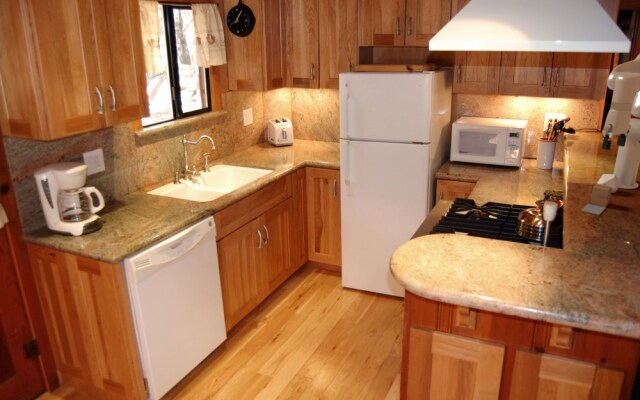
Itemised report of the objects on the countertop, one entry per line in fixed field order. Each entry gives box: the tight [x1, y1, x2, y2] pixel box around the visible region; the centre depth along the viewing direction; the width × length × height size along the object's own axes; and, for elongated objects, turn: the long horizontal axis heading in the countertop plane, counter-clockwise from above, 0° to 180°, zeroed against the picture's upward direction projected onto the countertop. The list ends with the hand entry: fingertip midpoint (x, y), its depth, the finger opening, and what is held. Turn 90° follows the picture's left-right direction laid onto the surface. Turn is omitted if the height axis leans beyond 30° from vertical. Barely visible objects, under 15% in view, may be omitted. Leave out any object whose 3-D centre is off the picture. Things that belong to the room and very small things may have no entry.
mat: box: [580, 203, 606, 216], centre depth 212 cm, size 10×7×1 cm
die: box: [596, 173, 622, 194], centre depth 232 cm, size 8×9×10 cm
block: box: [589, 183, 612, 208], centre depth 217 cm, size 6×6×8 cm
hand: (613, 147), depth 211 cm, fingers open, 9 cm apart
